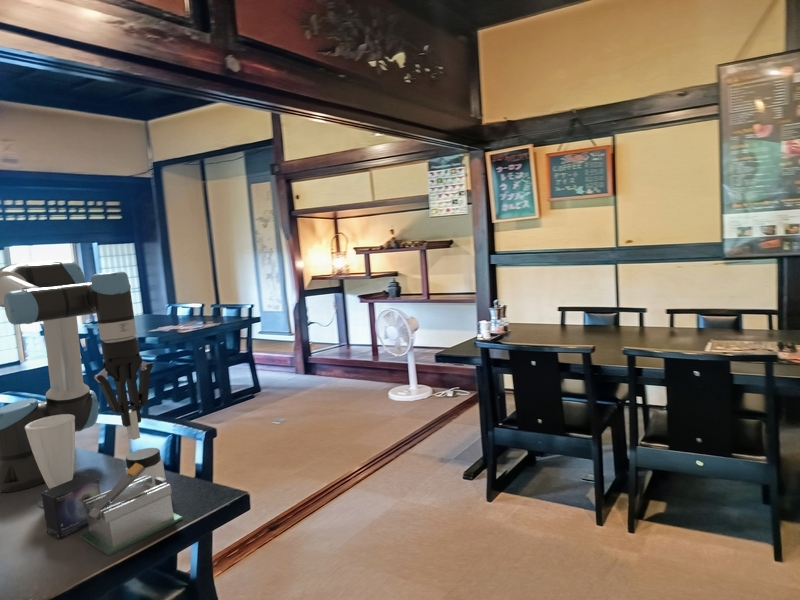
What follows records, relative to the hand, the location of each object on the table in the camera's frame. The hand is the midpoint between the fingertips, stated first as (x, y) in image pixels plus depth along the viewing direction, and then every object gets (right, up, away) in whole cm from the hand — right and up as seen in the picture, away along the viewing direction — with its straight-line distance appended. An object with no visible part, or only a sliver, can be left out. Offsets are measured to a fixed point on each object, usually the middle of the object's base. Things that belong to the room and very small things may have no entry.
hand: (134, 437), depth 126 cm
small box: (-15, -22, +3) cm, 27 cm away
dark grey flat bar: (-2, -12, -3) cm, 13 cm away
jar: (-4, -20, +15) cm, 25 cm away
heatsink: (0, -21, 0) cm, 21 cm away
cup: (-29, -21, +20) cm, 41 cm away
